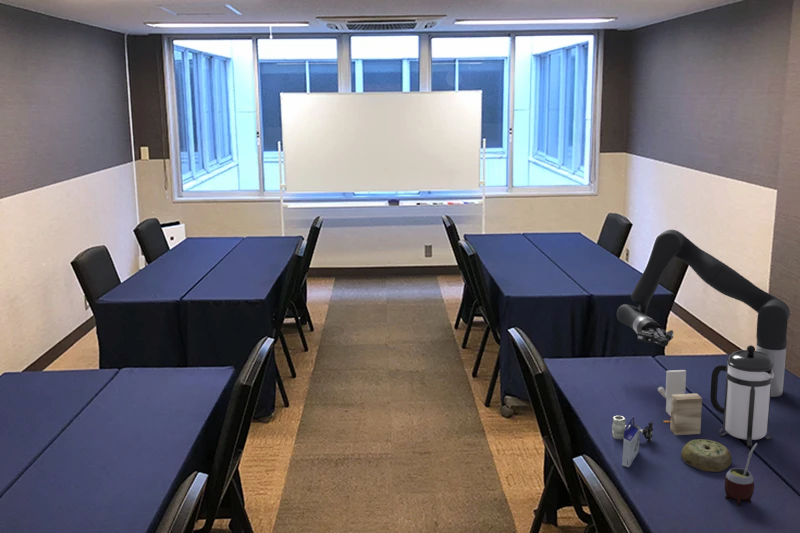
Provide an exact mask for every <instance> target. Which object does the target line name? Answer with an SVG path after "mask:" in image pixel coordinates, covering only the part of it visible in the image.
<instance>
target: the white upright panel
mask: <svg viewBox="0 0 800 533" xmlns="http://www.w3.org/2000/svg"><path fill="white" fill-rule="evenodd" d="M665 375H666V376H665V390H666V393H665V397H666V399H665V400H666V402H665V403H666V404H665V405H666V406H665V412H666V413H667V414H668V415H669V416H670V417H671V400H672V395H675V394H686V386H687V385H686V383H687V381H686V380H687V371H686V370H685V369H676V370H675V369H674V370H666V374H665Z"/></svg>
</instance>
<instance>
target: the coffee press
mask: <svg viewBox="0 0 800 533" xmlns="http://www.w3.org/2000/svg"><path fill="white" fill-rule="evenodd" d="M773 367H774V364H773V362H772V361H771V359H770V357H769V356H767V355H766V354H764V353H761V352H758V351H756V348H755V346H754V345H748V346H747V347H746V349H740V350H737V351H733V352H732V353H730V355H729V356H728V357H727V359H726V364H719V365H717V366H715V367H714V368H713V370H712V372H711V379H710V393H709V394H710V395H709V396H710V402H711V406H712V407H713V409H715V411H717V412H719V413H720V414H722V415H723V422H722V423H723V424H722V427H721V428H720V429H719V430H718V434H719V436H720V437H723V436H727V434H729V435H730V436H732V437H734V438H737V439H741V440H745V444H746V446H745V447H747V448H753V441H756V440H760V439H762V438H765V439H767V440H771V439H772V435H771V433H770V432H769V418H770V417H769V416H770V408H771V407H770V404H771V397H770V395H771V382H772V378H774V373H773ZM721 372H726V379H725V393H724V407H722V405H720V403H719V402H718V387H719V385H718V384H719V375H720V373H721ZM724 430H725V431H724ZM723 431H724V432H723ZM721 432H723V433H721ZM767 434H769V436H766V435H767Z"/></svg>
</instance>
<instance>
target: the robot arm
mask: <svg viewBox="0 0 800 533" xmlns="http://www.w3.org/2000/svg"><path fill="white" fill-rule="evenodd" d="M674 257H675V258H676V259H678V260H680V261H682V262H683V263H686V265H687V266H689V267H690V268H691V269H692V270H693V271H694V272H695V273H696V275H697V276H698V277H699V278H700V279H701V280H702V281H703V282H704V283H706V284H707V285H708V286H710V287H711V288H712V289H714V290H715V291H717V292H719V293H721V294H722V295H725V296H726V297H728V298H732V299H735V300H737V301H739V302H742V303H743V304H745V305H747V306H749V308H751V309H752V310H754V311H755V312H756V313H757V320H756V336H755V338H756V348H755V351H758V352H761V353H764V354H766V355H767V356H769V357H770V359H771V361H772V362H773V364H774V367H773V373H774V378H772V382H771V395H770V398H775V397H781V396H782V395H783V392H784V391H783V389H784V381H785V380H784V379H785V370H786V369H785V368H786V367H785V366H786V357H787V356H786V355H787V354H786V353H787V344H788V343H787V342H788V340H787V331H788V322H789V321H788V320H789V318H790V315H791V311H790V308H789V306H788V305H787V303H786V302H784V301H783V300H781V299H779V298H778V297H776V296H774V295H773V294H770V293H768V292H767V291H765V290H763V289H762V288H760V287H758V286H756V284H754V283H752V281H750V280H749V279H747V278H746V277H745V276H743V275H741V274H740V273H739V272H737V271H736V270H735V269H733V268H732V267H730V266H729V265H727V264H726V263H724V262H723V261H721V260H720V259H718V258H716V257H715V256H713V255H711V253H708V252H706V251H705V250H703V249H701V248H700V247H699V246H697V245H696V244H695V243H694V242H692V241H691V240H690V239H689V238H687V236H685V235H684V234H683V233H682V232H680V231H679V230H676V229H667V230H664V231H663V232H661V233H660V234H659V235H658V236H657V237H656V239H655V243H654V246H653V249H652V253H651V256H650V258H649V261H648V263H647V265H646V267H645V269H644V270H643V272H642V274H641V276H640V278H639V279H638V280H637V283H636V285H635V287H634V288H633V290H632V293H631V295H630V298H631V300H632V301H633V302H635V303H636V304H638V307H637V306H634V305H631V304H628V303H627V304H626V303H624V304H621V305H620V306H619V307H618V308H617V311H616V318H617V321H619V322H620V323H622V324H623V325H626V326H627V327H629V328H631V329H632V330H633V331H634V332H635V333H636V334H637V340H638V341H641V342H645V343H649V344H654V343H656V344H658V345H660V346H661V347H668V345H669V343H670V341H671V340H673V338H674V330H672V329H671V330H668V331H666V330H665V329H663V328H662V326H661V325H660V324H659V323H658V322H657V321H655V320H654V319H653V318H652V317H649V316H648V315H647V313H648V307H649V305H650V302H651V300H652V298H653V296H654V294H655V292H656V290H657V289H658V286H659V284H660V281H661V278H662V276H663V273H664V272H665V269H666V268H667V266H668V265H669V264H670V262H671V261H672V260H673V258H674Z"/></svg>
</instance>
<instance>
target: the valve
mask: <svg viewBox="0 0 800 533" xmlns="http://www.w3.org/2000/svg"><path fill="white" fill-rule="evenodd" d="M626 425H627V424H626V418H625V416H622V415H614V416H613V417H612V425H611V431H612V437H613V439H615V440H619V439H620V440H624V428H625V427H626ZM653 426H654V423H653V422H652V421H651V422H648V425H647V426H645V427H643V429H640V434H642V436H643V437H644V438H645V439H646V443H648V444H652V441H653V440H652V438H653V431H654V427H653ZM629 427H630V426H629ZM629 427H628V428H629Z"/></svg>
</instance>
